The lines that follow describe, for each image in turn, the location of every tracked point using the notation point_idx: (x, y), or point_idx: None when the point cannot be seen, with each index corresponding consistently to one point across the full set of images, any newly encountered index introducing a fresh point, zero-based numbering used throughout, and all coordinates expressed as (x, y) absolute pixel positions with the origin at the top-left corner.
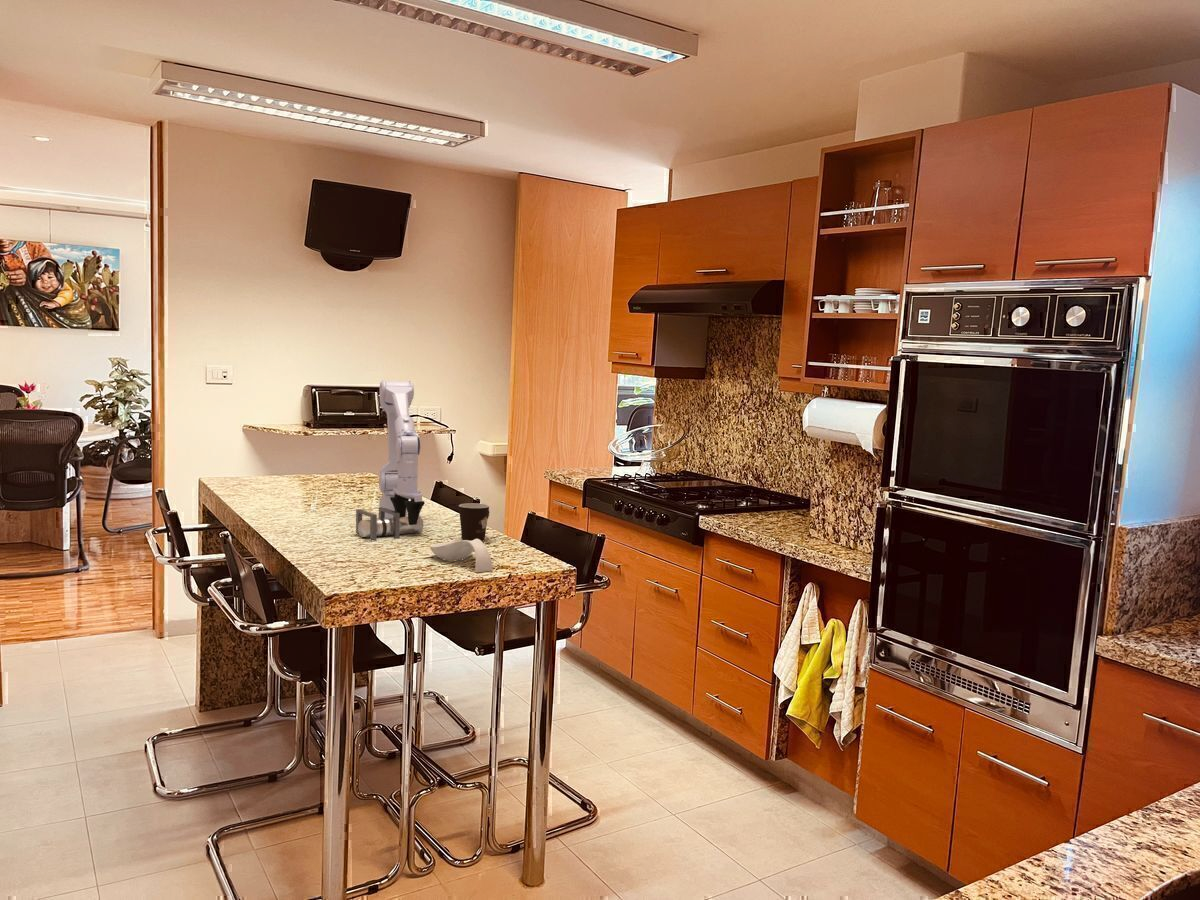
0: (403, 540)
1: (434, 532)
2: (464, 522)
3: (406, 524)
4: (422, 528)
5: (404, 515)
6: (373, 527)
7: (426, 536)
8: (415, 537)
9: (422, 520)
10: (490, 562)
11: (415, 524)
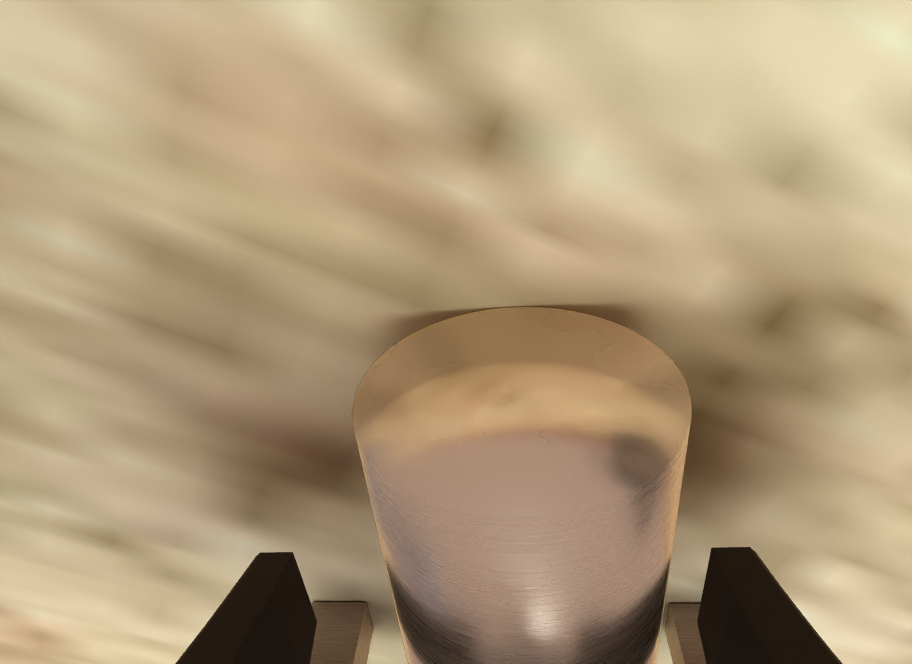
0: (865, 611)
1: (644, 70)
2: None
3: (658, 640)
4: (659, 355)
5: (264, 628)
6: None
7: (862, 336)
8: (812, 472)
9: (681, 452)
10: None
11: (757, 565)
